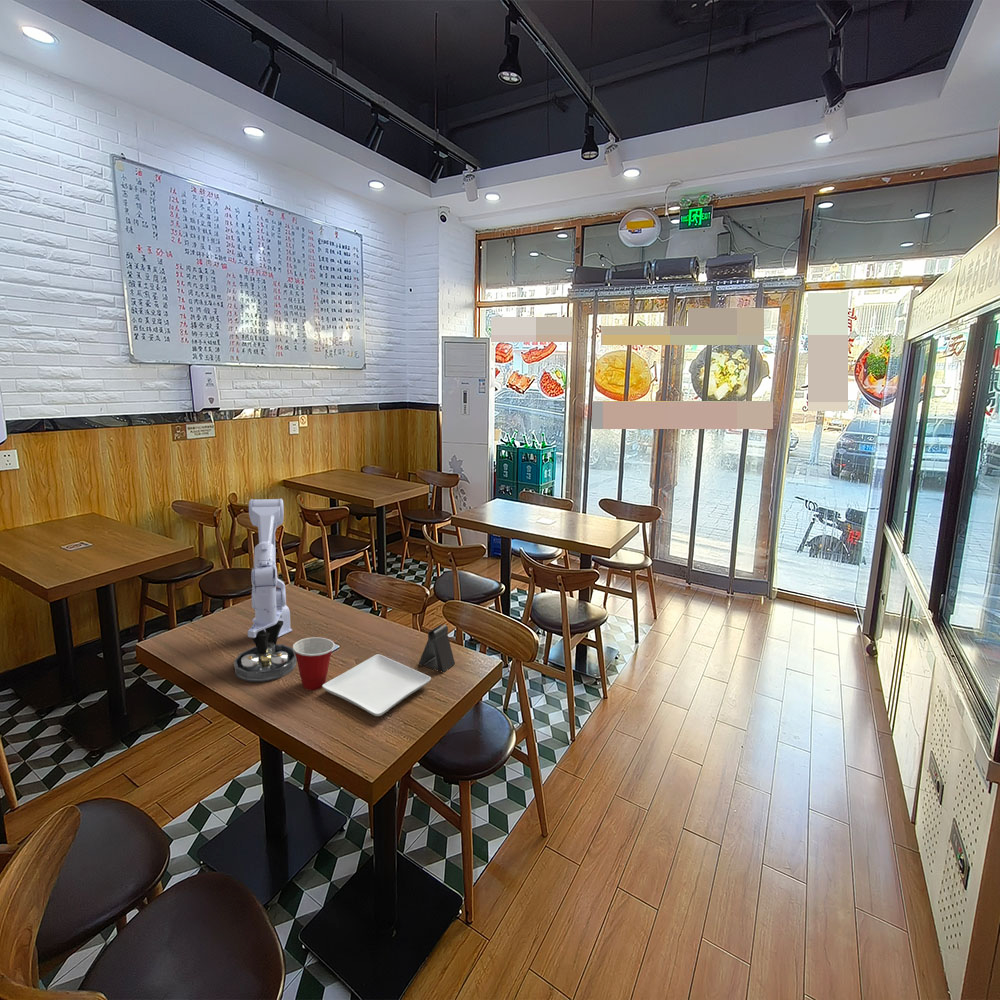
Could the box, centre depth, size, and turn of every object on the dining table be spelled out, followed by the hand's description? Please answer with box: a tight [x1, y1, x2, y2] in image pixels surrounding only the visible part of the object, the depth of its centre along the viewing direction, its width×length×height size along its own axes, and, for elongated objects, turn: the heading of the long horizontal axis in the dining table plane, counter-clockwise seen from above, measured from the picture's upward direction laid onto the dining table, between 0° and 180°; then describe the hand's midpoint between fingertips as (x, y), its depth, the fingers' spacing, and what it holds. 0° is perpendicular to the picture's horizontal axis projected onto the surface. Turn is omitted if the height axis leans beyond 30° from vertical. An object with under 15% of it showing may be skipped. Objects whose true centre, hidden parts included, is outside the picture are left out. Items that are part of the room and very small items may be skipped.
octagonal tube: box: [258, 642, 275, 659], centre depth 157 cm, size 4×4×3 cm
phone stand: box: [418, 623, 456, 673], centre depth 159 cm, size 9×6×12 cm, turn 60°
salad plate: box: [322, 653, 432, 717], centre depth 145 cm, size 21×21×3 cm
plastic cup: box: [292, 636, 336, 691], centre depth 145 cm, size 11×11×12 cm
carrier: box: [233, 643, 297, 683], centre depth 153 cm, size 16×16×5 cm
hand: (267, 649), depth 157 cm, fingers closed on octagonal tube, 4 cm apart
